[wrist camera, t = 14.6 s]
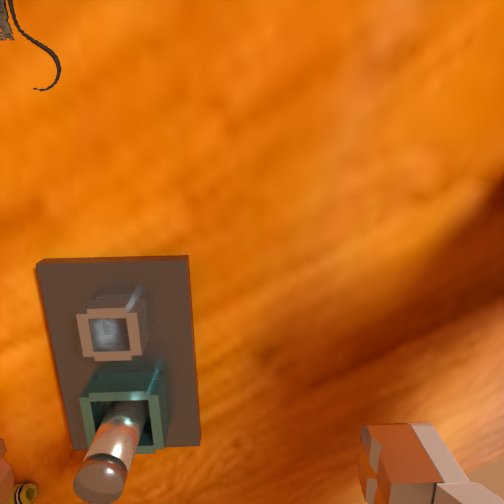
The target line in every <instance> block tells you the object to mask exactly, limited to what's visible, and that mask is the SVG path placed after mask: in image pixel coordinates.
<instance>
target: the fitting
mask: <svg viewBox="0 0 504 504" xmlns="http://www.w3.org/2000/svg"><path fill="white" fill-rule="evenodd" d="M148 412H149V401H148V400H127V401H111V404H110V406H109V408H108V410H107V412H106V414H105V416H104V418H103V420H102V422H101V424H100V427H99V429H98V431H97V433H96V435H95V437H94V439H93V441H92V443H91V445H90V448H89V450H88V452H87V454H86V456H85V458H84V460H83V462H82V464H81V466H80V468H79V471H78V473H77V475H76V477H75V479H74V482H73V488H74V491H75V493H76V494H77V495H78V496H79V497H80V498H81V499H82V500H84V501H85V502H88V503H90V504H110V503H113V502H114V501H116V500H117V499H118V498H119V497H120V496H121V494H122V491H123V488H124V485H125V482H126V479H127V476H128V473H129V470H130V467H131V464H132V461H133V458H134V455H135V452H136V449H137V446H138V443H139V440H140V437H141V434H142V431H143V428H144V425H145V422H146V419H147V415H148Z"/></svg>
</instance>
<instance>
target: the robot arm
mask: <svg viewBox="0 0 504 504" xmlns="http://www.w3.org/2000/svg"><path fill="white" fill-rule="evenodd" d="M360 439H361V442H362V444H363V447H364V449H363V450H362V452H361V453H360V454H359V463H358V468H359V479H360V484H361V488H362V492H363V495H364V498H365V501H366V502H367V503H369V504H504V500H503V499H502V498H500V497H499V496H497V495H496V494H494V493H493V492H491V491H490V490H488V489H487V488H485V487H484V486H482V485H481V484H479V483H478V482H470V481H469V479H468V478H467V476H466V475H465V473H464V472H463V470H462V469H461V467H460V466H459V464H458V463H457V461H456V459H455V458H454V456H453V455H452V453H451V452H450V450H449V449H448V447H447V446H446V444H445V443H444V441H443V440H442V438H441V437H440V435H439V434H438V432H437V430H436V429H435V427H434V426H433V425H432V424H431V423H430V422H411V423H394V424H371V425H363V427H362V429H361V438H360ZM6 452H7V448H6V445H5V442H4V439H2V438H0V504H8V502H9V499H10V496H11V493H12V490H13V486H14V474H13V470H12V466H10V465H9V464H8V463H7V462H6V461H5V460H3V457H4V456H5V454H6Z"/></svg>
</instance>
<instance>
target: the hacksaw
mask: <svg viewBox="0 0 504 504" xmlns="http://www.w3.org/2000/svg"><path fill="white" fill-rule="evenodd" d="M8 4H9V7H10V12H11V14H12V18H13V20H14V24H15V26H16V27H17V29H18V31H19V32H20V33H22V35H23V36H25V37H26V38H27V39H28V40H30V41H31V42H32V43H34V44H35V45H37V46H39V47H40V48H42V49H43V50H45V51H47V52H48V53H49V54H50V55H51V56H52V57H53V59H54V61H55V62H56V66H57V76H56V79H55V81H54V83H53V84H52V85H51V86H48V87H47V88H46V89H38V90H39V91H45V90H49V89H50V88H52V87H53V86H54V84H56V83H57V81H58V80H59V77H60V73H61V66H60V61H59V59H58V57H57V55H55V53H54V52H53V51H52V50H51V49H49V48H48V47H47V46H44V45H43V44H42V43H39V42H38V41H37V40H34V39H33V38H32V37H30V36H28V35H27V34H26V33H24V31H23V30H21V29H20V26H19V25H18V21H17V19H16V15H15V13H14V8H13V0H8ZM8 18H9V16H8V12H7V8H6V2H5V0H0V28H1V30H2V32H0V33H1V34H4V35H0V40H5V41H6V38H9V39H11V38H12V39H11V40H14V39H13V36H12V35H10V34H13V32H12V29H11V27H10V24H9V23H8ZM6 35H7V36H6ZM4 37H5V39H3V38H4ZM11 40H9V41H11ZM33 89H34V90H37V88H33Z"/></svg>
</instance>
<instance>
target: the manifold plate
mask: <svg viewBox="0 0 504 504" xmlns="http://www.w3.org/2000/svg"><path fill="white" fill-rule="evenodd" d="M36 267H37V272H38V277H39V282H40V287H41V292H42V297H43V302H44V307H45V312H46V316H47V321H48V326H49V331H50V336H51V341H52V346H53V351H54V356H55V361H56V366H57V371H58V376H59V381H60V386H61V391H62V396H63V401H64V406H65V411H66V416H67V421H68V426H69V431H70V435H71V440H72V445H73V450H89V448H90V445H91V443H92V441H93V439H94V437H95V435H96V433H97V431H98V429H99V427H100V424H101V422H102V420H103V418H104V416H105V414H106V412H107V410H108V408H109V406H110V404H111V401H127V400H148V401H149V412H148V415H147V419H146V422H145V425H144V428H143V431H142V434H141V437H140V440H139V443H138V446H137V449H136V452H135V454H150V453H155V450H156V449H164V447H184V446H200V441H201V426H200V412H199V397H198V383H197V369H196V355H195V341H194V327H193V313H192V299H191V285H190V271H189V256H188V255H178V256H137V257H96V258H55V259H43V260H41V261H40V262H38V263H37V264H36Z"/></svg>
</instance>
